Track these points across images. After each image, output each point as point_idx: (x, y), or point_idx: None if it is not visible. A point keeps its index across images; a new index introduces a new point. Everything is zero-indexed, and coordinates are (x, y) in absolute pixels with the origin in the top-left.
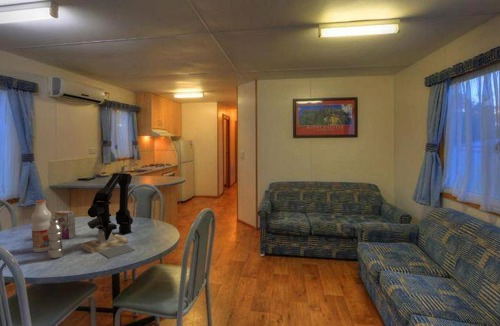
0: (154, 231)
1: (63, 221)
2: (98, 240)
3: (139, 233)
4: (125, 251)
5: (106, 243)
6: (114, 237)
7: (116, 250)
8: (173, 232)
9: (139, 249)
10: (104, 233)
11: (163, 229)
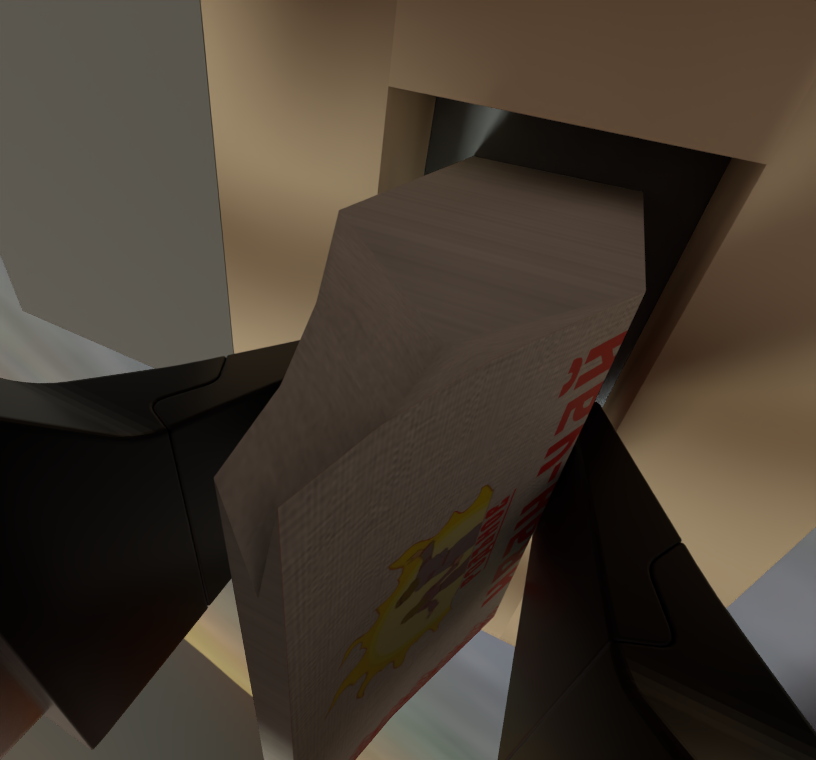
0: (384, 734)
1: None
2: (592, 222)
3: (470, 721)
4: (1, 212)
5: (299, 233)
6: None
7: (87, 177)
8: (244, 685)
9: (34, 340)
10: (202, 395)
11: (363, 756)
